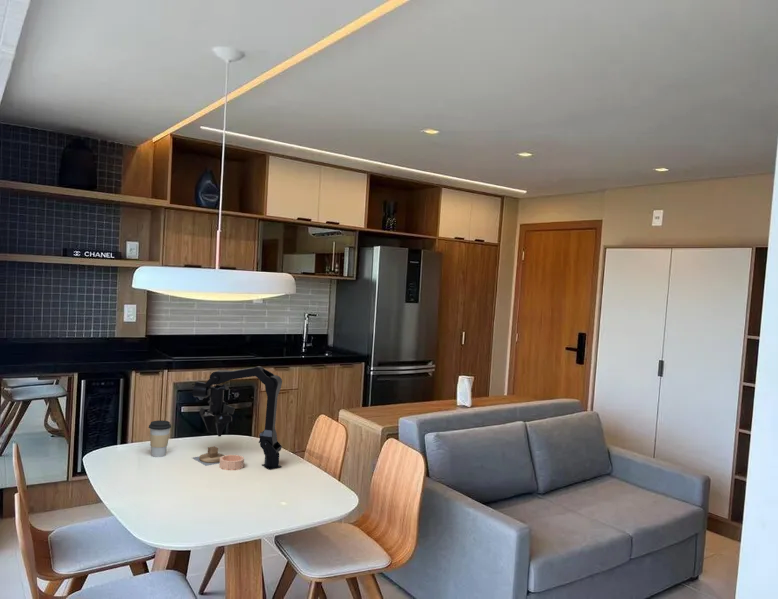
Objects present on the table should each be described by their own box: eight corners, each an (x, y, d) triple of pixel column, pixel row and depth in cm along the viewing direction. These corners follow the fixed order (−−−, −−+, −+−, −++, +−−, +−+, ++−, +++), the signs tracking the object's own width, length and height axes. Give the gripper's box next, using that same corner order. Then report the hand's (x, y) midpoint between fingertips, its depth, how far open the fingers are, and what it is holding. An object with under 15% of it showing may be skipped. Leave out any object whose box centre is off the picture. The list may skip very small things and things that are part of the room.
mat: (232, 461, 260) (232, 460, 260) (205, 466, 251) (205, 465, 251) (218, 454, 269) (218, 453, 269) (191, 458, 260) (191, 457, 260)
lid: (229, 460, 260) (230, 448, 260) (206, 464, 252) (207, 452, 252) (217, 454, 268) (218, 442, 268) (194, 458, 260) (195, 446, 260)
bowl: (247, 468, 253) (248, 459, 252) (226, 472, 245) (227, 463, 245) (235, 462, 260) (236, 453, 259) (215, 466, 252) (215, 456, 252)
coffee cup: (173, 456, 262) (176, 422, 261) (155, 460, 254) (157, 426, 253) (160, 451, 267) (162, 418, 266) (141, 455, 259) (144, 422, 258)
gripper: (243, 401, 259) (241, 436, 259) (222, 393, 272) (220, 427, 272) (220, 403, 251) (218, 440, 251) (200, 395, 264) (197, 430, 265)
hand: (214, 434), depth 260 cm, fingers open, 9 cm apart
